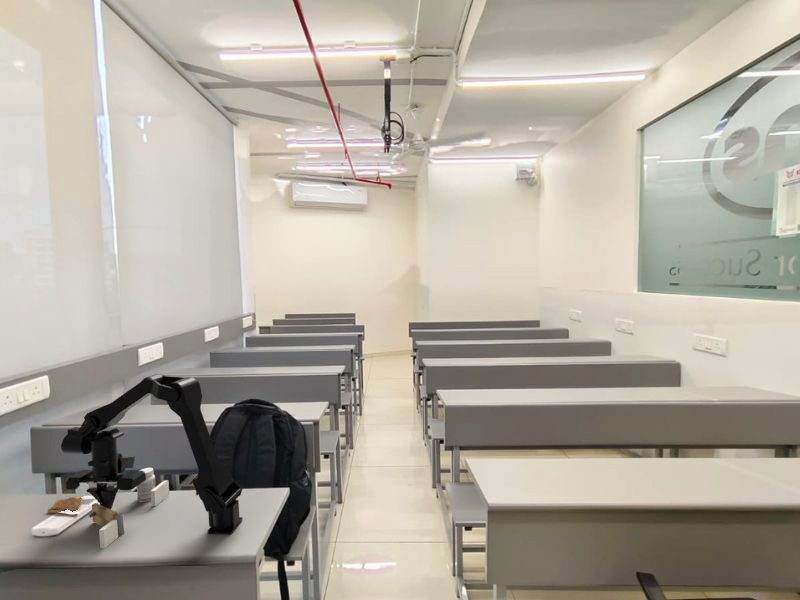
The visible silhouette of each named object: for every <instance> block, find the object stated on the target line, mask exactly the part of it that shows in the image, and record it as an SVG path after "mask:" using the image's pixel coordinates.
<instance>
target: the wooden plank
mask: <svg viewBox="0 0 800 600" xmlns="http://www.w3.org/2000/svg"><path fill="white" fill-rule="evenodd" d="M116 514H118V512H117V511H115V510H112V509H108V508H106V507H104V506H102V505H100V503H92V504H91V513H89V515H88V517H89V518H92V522H93V523H95V524H97V525H99V526H102V527H104V526H105V525H106V524H108V523H109V522H110V521H112V520H114V516H115V515H116Z"/></svg>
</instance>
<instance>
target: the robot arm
mask: <svg viewBox="0 0 800 600" xmlns="http://www.w3.org/2000/svg"><path fill="white" fill-rule="evenodd" d="M151 395H152V396H153V397H155V398H156V399H158V400H161V401H165V402H166V403H167V405H168V408H169V409H170V410H172V412H173V413H175V414H176V415H177V416H178V417H179V418H180V420H181V424H182V427H183V429H184V432H185V435H186V438H187V441H188V443H189V446H190V449H191V452H192V455H193V458H194V460H195V464H196V466H197V471H198V472H197V476H196V477H193V479H192V485H193V486H194V489H195V492H196V493H195V495H196V496H198V497H199V499H200V500H201V502H202V505H203V507H204V509H205V511H206V513H208V527H210V528H209V529H207V534H219V535H220V534H221V535H222V534H223V535H224V534H225V535H226V534H227V535H228V534H229V535H230V534H232V533H234V531H236V529H237V528H238V526H239V525H240V523H241V522H242V521H243V520H244V519H243V516H242V517H241V516H240V502H239V499H238V498H239V497H240V496H241V495H242V493H243V487H242V486H241V485H240V484H239V483H238V482H237V481H236V480H235V479H234V478H233V476H232V474H231V473H230V470H229V467H228V466H226V465H225V464H224V463H223V462H221V461H220V460H219V458H218V456H217V453H216V449H215V447H214V444H213V442H212V439H211V436H210V432H209V430H208V426H207V424H206V421H205V418H204V415H203V413H202V410H201V409H202V408H201V406H202V400H203V394H202V387H201V383H200V382H199V381H198V379H197V378H196V379H195V378H194V377H192V376H186V377H183V376H175V375H174V376H173V375H165V374H161V373H155V374H152V375H150V376H147V377H143V378H142V379H141V381H139V382H138V383H137V384H136V385H134V386H133V387H131V388H130V389H128V390H127V391H126V392H124V393H123V394H121V395H120V396H119V397H118V398H116V399H114V400H113V401H111V402H110V403H108V404H106V405H103V406H100V407H98V408H96V409H94V410H91V411H88V412H87V413H86V414H85V415H84V417H83V418H84V420H83V422H82V424H81V425H80V426H79V427H78V426H74V427H71V428H68V429H67V434H65V436H64V437H63V439H62V442H61V443H60V448H61V451H62V452H63V453H64V454H69V455H70V454H73V455H75V454H76V455H89V454H91V460H89V461H88V462H87V467H92V469H82V470H80V471H78V472H76V473H74V474H73V475H71V476H69V477H68V478H67V479H66V481H65V488H66V490H77V489H78V488H80V486H81V484H82V483H83V484H85V483H86V484H87V485H88V486H87V487H88V488H87V489H86V490H85V491H86V493H89V494H90V495H91V496H92V497H93V498H94V499H95V500H96V501H97V502H98V504H99V505H102V506H104V507H106V508H108V509H111V510H112V507H113V505H114V502H115V499H116V496H117V493H118V491H119V490H120V491H131V490H133V489H135V488H137V486H138V485H139V484H141V483H142V482H144V481H145V480H146V474H145V472H144V471H140V470H130V471H128V472H126V473H125V474H123V473H124V472H125V471H126V469H134V465H135V460H136V456H133V455H132V456H131V455H130V456H123V454H122V453H121V452H120V453H119V452H118V440H117V439H119V438H120V437H124V435H125V433H124V432H123V431H122V430H119V429H118V428H117V427H115V428H113V429H110V430H107V429H109V428H111V427H113V426H115V425H117V424H119V423H120V421H122V419H123V418H124V417H125V416H126V413H128V411H129V410H131V409H132V408H134V407H135V406H136V405H138V404H139V403H141V402H142V401H143V400H145V399H146V398H148V397H150V396H151ZM120 473H122V474H120Z"/></svg>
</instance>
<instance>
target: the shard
mask: <svg viewBox="0 0 800 600" xmlns="http://www.w3.org/2000/svg"><path fill="white" fill-rule="evenodd" d="M81 497H83V496H71V497H70V496H69V497H67V498H62V499H57V500H55V501H54V502H53V504H52V506H51V507H50V508H48V510H47V513H48V514H55V513H57V514H59V513H58V512H61V511H65V510H67V509H68V510H70V511H72V512H73V511H76V510H78V509H79V510H80V507H81V505H82V501H83V498H81Z"/></svg>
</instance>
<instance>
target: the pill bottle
mask: <svg viewBox="0 0 800 600" xmlns="http://www.w3.org/2000/svg"><path fill="white" fill-rule="evenodd" d="M139 471H144V472H145V474H146V480H145V481H144V482H142V483H141V484H139V485H138V486H136V493H137V494H136V497H137V501H138V502H139V503H146V502H149V501H150V502H151V490H152V489H154V488H155V487H156V486H157V485H156V484H157V483H156V475H155V474H154V468H153V467H145V468H142V469H140V470H139Z"/></svg>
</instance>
